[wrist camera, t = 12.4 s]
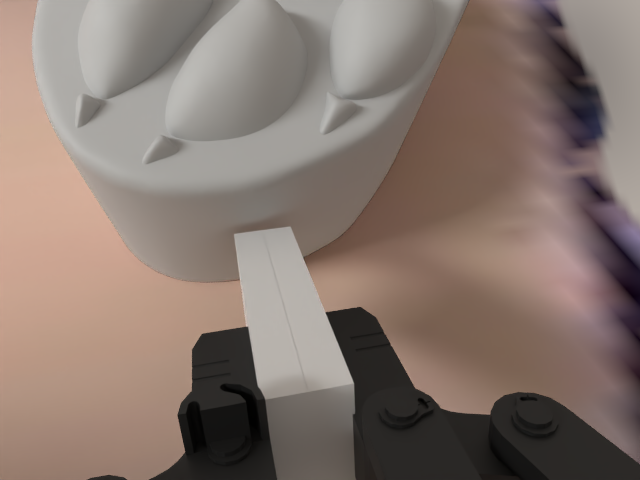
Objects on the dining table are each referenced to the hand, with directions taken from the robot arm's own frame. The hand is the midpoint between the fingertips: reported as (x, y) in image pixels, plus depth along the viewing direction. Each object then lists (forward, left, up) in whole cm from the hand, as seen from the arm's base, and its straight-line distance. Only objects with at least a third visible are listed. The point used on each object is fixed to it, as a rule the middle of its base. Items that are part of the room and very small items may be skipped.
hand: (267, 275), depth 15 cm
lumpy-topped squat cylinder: (+7, -1, -4) cm, 8 cm away
